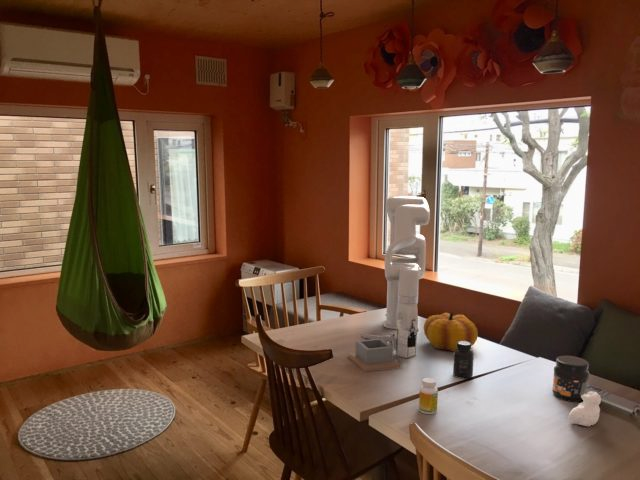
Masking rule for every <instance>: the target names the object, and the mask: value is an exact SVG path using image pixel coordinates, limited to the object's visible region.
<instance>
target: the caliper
mask: <svg viewBox="0 0 640 480" xmlns="http://www.w3.org/2000/svg"><path fill="white" fill-rule="evenodd" d="M360 337H362V338H365V339H368V340H371V339H382V340H384V341H385V342H387V343H388V344H389V345H391V346H392V347H393V350H396V335H395V334H394V333H390V335H386V334H385V335H376V334H375V335H374V334H369V333H368V334H365V333H364V334H362V335H360Z"/></svg>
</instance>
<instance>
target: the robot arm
mask: <svg viewBox="0 0 640 480" xmlns="http://www.w3.org/2000/svg"><path fill="white" fill-rule="evenodd" d="M385 201H386V202H385V209H386V214H387V217H388V219H389V224H390V228H389V229H390V231H389V232H390V233H389V234H390V235H389V246H388V248H387V249H386V251H385V255H384V276H385V279H386V281H387V284H386V285H387V288H386V289H387V290H386V291H387V292H386V313H385V318H386V319H385V320H383V321H382V326H383V327H384V328H387V329H391V330H397V320H398V319H399V320H402V321H401V328H402V329H404V330H406V331H407V330H408V335H409V337H408V340H407V347H415V343H416V344H417V341H416V335H417V336H418V333H419V332H420V331H419V327H418V326H419V325H418V324H419V323H418V321H419V320H418V319H419V317H418V316H419V315H418V313H419V311H418V304H419V283H420V281H419V280H420V279H423V278H424V277H425V275H426V258H427V257H426V256H427V242H426V237H425V236H424V235H422V234H419V233H418V234H417V230H416V226H427V225H429V223H430V221H431V220H430V219H431V213H430V212H431V210H430V206H429V203H428V201H427V199H426V198H424V197H422V196H391V197H388V198H387V199H386V200H385ZM394 255H397V256H398V255H399V256H415V257H393V256H394ZM411 327H412V328H413V329H410V328H411ZM410 331H413V332H412V333H411V332H410Z"/></svg>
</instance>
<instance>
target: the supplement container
mask: <svg viewBox="0 0 640 480" xmlns="http://www.w3.org/2000/svg"><path fill="white" fill-rule="evenodd" d="M555 360H556V361H555V366H554V367H553V383H552V393H553V394H554V395H555V396H556V397H557V396H558V397H557V398H559V397H560V398H559V399H561V398H562V400H564V399H565V400H564V401H567V400H570V401H569V402H575V401H577V402H581V401H580V400H583V399H582V398H581V395H583V394H586V393H588V392H589V391H588V390H589V379H590V378H589V377H590V371H589V366H590V365H589V362H588V361H587V360H586V359H584V358H581V357H577V356H574V355H560V356H557V357H556V359H555Z"/></svg>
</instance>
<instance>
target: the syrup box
mask: <svg viewBox="0 0 640 480" xmlns="http://www.w3.org/2000/svg"><path fill="white" fill-rule="evenodd" d="M401 321H402V320H399V319H398V320H397V329H396V335H395V337H396V349H395V355H396V356H398V357H401V358H404V359H409V358H411V357H414V356H416V353H417V340H418V339H417V337H418V334H417V335H416V343H415V347H407V340H408V337H409V335H408V330H407V331H406V330H404V329H402V328H401ZM410 329H413V328H412V327H411V328H410ZM410 332H411V333H412V332H413V331H410Z"/></svg>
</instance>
